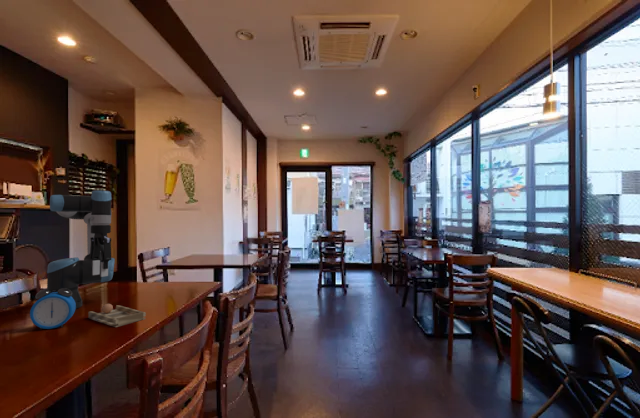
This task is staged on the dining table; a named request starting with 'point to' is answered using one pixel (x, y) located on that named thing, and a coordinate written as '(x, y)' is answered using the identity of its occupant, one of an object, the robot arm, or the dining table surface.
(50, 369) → the dining table surface
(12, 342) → the dining table surface
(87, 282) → the robot arm
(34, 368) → the dining table surface
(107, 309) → the ball
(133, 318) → the lane
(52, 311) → the alarm clock
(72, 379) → the dining table surface
